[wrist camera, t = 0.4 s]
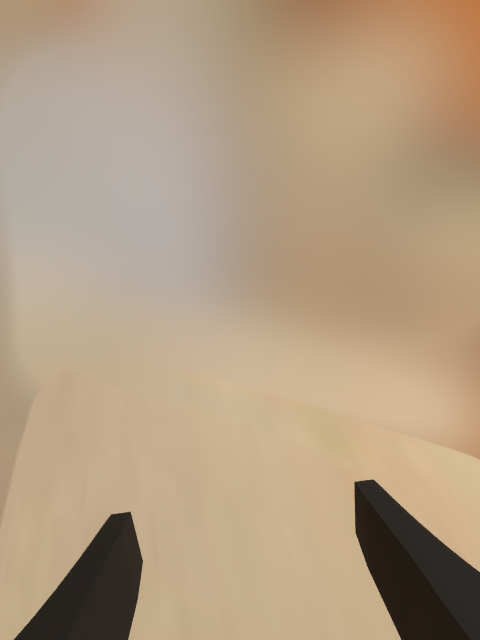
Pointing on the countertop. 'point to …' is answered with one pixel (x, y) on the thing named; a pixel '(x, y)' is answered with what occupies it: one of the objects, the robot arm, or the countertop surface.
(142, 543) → the countertop surface
